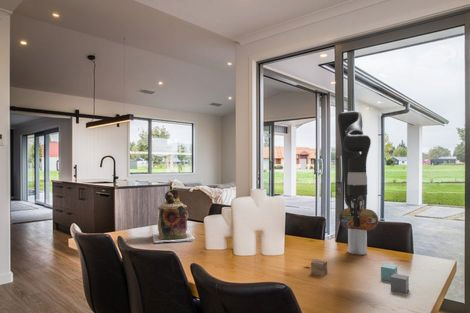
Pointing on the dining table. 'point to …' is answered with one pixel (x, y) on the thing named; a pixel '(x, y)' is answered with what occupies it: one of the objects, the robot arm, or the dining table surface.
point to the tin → (366, 219)
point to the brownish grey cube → (319, 267)
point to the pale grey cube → (400, 283)
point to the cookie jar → (172, 220)
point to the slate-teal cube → (388, 271)
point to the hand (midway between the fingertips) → (357, 225)
